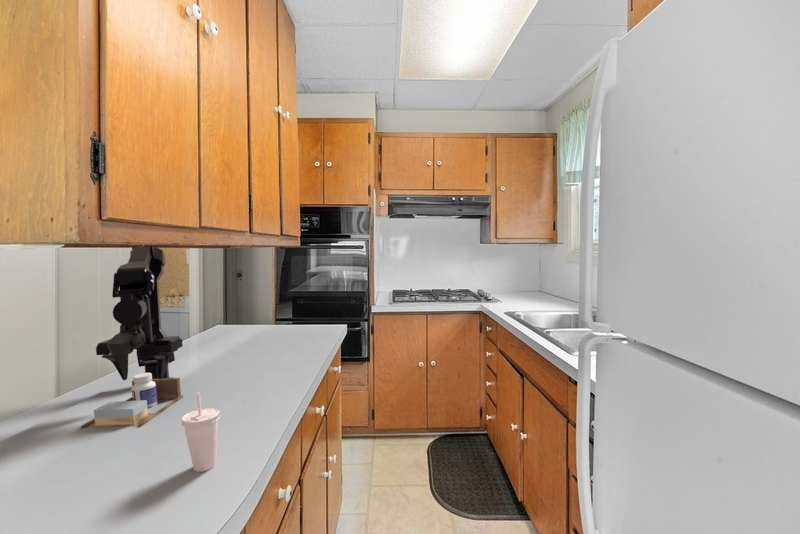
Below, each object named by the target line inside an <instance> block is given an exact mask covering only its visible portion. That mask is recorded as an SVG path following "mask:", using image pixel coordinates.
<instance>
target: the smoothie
mask: <svg viewBox="0 0 800 534" xmlns="http://www.w3.org/2000/svg"><path fill="white" fill-rule="evenodd" d="M201 401H202V400H201V391H200V392H199V391H198V392H196V404H197V409H196V410H193V411H190V412H187V413H185V414H184V415H183V416H182V417H181V426H182V427H183V428H184V433H185V437H186V442H187V445H188V450H189V455H190V458H191V463H192V469H193V471H194V472H198V473H200V472H201V473H202V472H207V471H210V470H212V469H213V468H214V467H215V466H216V465H217V449H218V432H219V431H218V430H219V429H218V428H219V419H220V418H221V414H220V413H221V412H220V410H219V409H217V408H213V407H212V408H211V407H208V408H207V407H206V408H202V402H201Z"/></svg>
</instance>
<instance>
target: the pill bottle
mask: <svg viewBox="0 0 800 534" xmlns="http://www.w3.org/2000/svg"><path fill="white" fill-rule="evenodd" d="M151 380H152V374H151V373H145V372H142V373H139V374H135V375H133V377H132V381H134V383H135V384H134V385H133V386H131V389H130V391H131V392H130V393H131V397H132V401H139V400H147V408H148V409H151V408H154V407H156V406H158V399H157V393H156V384H155V382H154V381H151Z"/></svg>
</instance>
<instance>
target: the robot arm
mask: <svg viewBox="0 0 800 534" xmlns="http://www.w3.org/2000/svg"><path fill="white" fill-rule="evenodd" d="M166 265H167V264H166V254H165V252H164V251H163V249H161V248H159V247H156V246H154V247H132V246H131V251H130V253H129V258H128V262H127V263H124V264H121V265H120V266H119V267H118V268H117V270H116V272H114V274H113V280H112V281H113V282H112V296H111V297H112V298H115V299H116V298H120V301H119V302H117V303H116V304H115V306H114V307H113V309H112V316H113V319H114V320H115V321H116V322H117V323H119V324H120V326H119V332H118V333H117V334H115V335H114V336H113V337H111V338H110V339H107V340H104V341H101V342H98V343H97V345H96V347H95V355H96V356H101V358H102V359H107V360H108V361H110V362H111V363H112V364H113V366H114V368H115V369H116V371H117V372H118V374H119V376H120V377H121V379H122V381H127V379H128V376H129V355H130V354H132V353H133V352H134V350H136V357H137V359H136V360H137V365H138V367H139V368H141V367H144V373H151V374H152V379H163V378H170V372H169V371H170V370H169V364H171V363H172V362H174V361H175V360H176V359H175V352H176V351H179V349H181V348H183V339H182V338H181V337H180V336H179V335H175V336H168V335H166V333H165V332H164V331H163V329H162V320H161V317H162V316H161V303H160V300H161V299H160V285H159V281H160V279H161V278H162V276H163V274H164V273H165V272H164V271H165V270H164V267H166Z"/></svg>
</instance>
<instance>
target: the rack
mask: <svg viewBox="0 0 800 534" xmlns="http://www.w3.org/2000/svg"><path fill="white" fill-rule="evenodd" d="M180 380H181V379H180V377H169V378H163V379H152V380H151V381H154V382H155V384H156V393H157V400H167V399H168V400H169V399H171V400H172V399H173V400H172V401H170V402H169V403H167V404H166V405H165V406H163V407H162V408H160V409H159V410H157V411H156V412H152V413H151V412H150V413H149V412H148V416H146V417H145V418H143V419H142V420H140V421H139V422H137V423H136V424H131V425H101V426H95V417H94V418H92V419H90V421H87V422H86V423H83V424H82V425H81V426H80V429H81V430H82V429H95V428H97V429H99V428H101V429H103V428H128V427H132V428H133V427H140V428H141V427H143V426H144V425H146V424H147V423H149V422H150V421H152V420H153V419H154V418H156V417H157V416H159V415H160V414H162V413H163V412H164V411H166V410H167V409H169V408H170V407H171V406H174V404H176V403H177V402H179V401H180V400H181V399H183V398H184V395H182V393H181V381H180ZM134 384H135V383H134V381H133V380H132V381H131V385H132V386H133V385H134ZM132 386H131V387H132ZM125 401H132V396H131V397H129V398H128V399H126V400H125Z"/></svg>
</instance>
